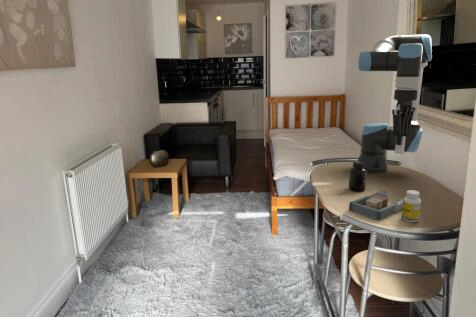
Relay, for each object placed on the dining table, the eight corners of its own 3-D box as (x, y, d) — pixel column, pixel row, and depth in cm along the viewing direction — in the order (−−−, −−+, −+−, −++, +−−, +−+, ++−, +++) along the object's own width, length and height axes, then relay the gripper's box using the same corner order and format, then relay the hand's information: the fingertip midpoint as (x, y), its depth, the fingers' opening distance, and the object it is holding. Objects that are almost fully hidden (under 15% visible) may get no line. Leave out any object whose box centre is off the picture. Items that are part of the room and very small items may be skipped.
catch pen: (365, 203, 137) (366, 195, 136) (395, 212, 128) (396, 204, 127) (349, 210, 130) (349, 202, 129) (379, 220, 121) (380, 212, 121)
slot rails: (382, 195, 144) (382, 190, 144) (412, 204, 135) (412, 198, 135) (362, 204, 136) (363, 197, 135) (393, 213, 127) (393, 207, 126)
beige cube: (371, 208, 132) (372, 197, 131) (381, 211, 129) (382, 200, 128) (365, 210, 130) (366, 200, 129) (375, 214, 127) (376, 203, 126)
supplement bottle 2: (398, 216, 125) (401, 189, 122) (413, 215, 125) (416, 189, 123) (406, 222, 119) (409, 195, 117) (422, 222, 120) (425, 194, 117)
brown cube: (376, 205, 135) (377, 195, 134) (387, 208, 132) (388, 198, 131) (371, 208, 132) (372, 197, 131) (381, 211, 129) (382, 200, 128)
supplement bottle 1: (366, 192, 148) (368, 164, 145) (349, 191, 149) (351, 163, 146) (364, 187, 155) (366, 160, 152) (347, 186, 156) (349, 159, 153)
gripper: (404, 87, 135) (398, 148, 141) (386, 89, 127) (380, 154, 133) (425, 88, 129) (417, 152, 135) (407, 90, 121) (400, 158, 127)
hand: (399, 153), depth 134 cm, fingers closed
